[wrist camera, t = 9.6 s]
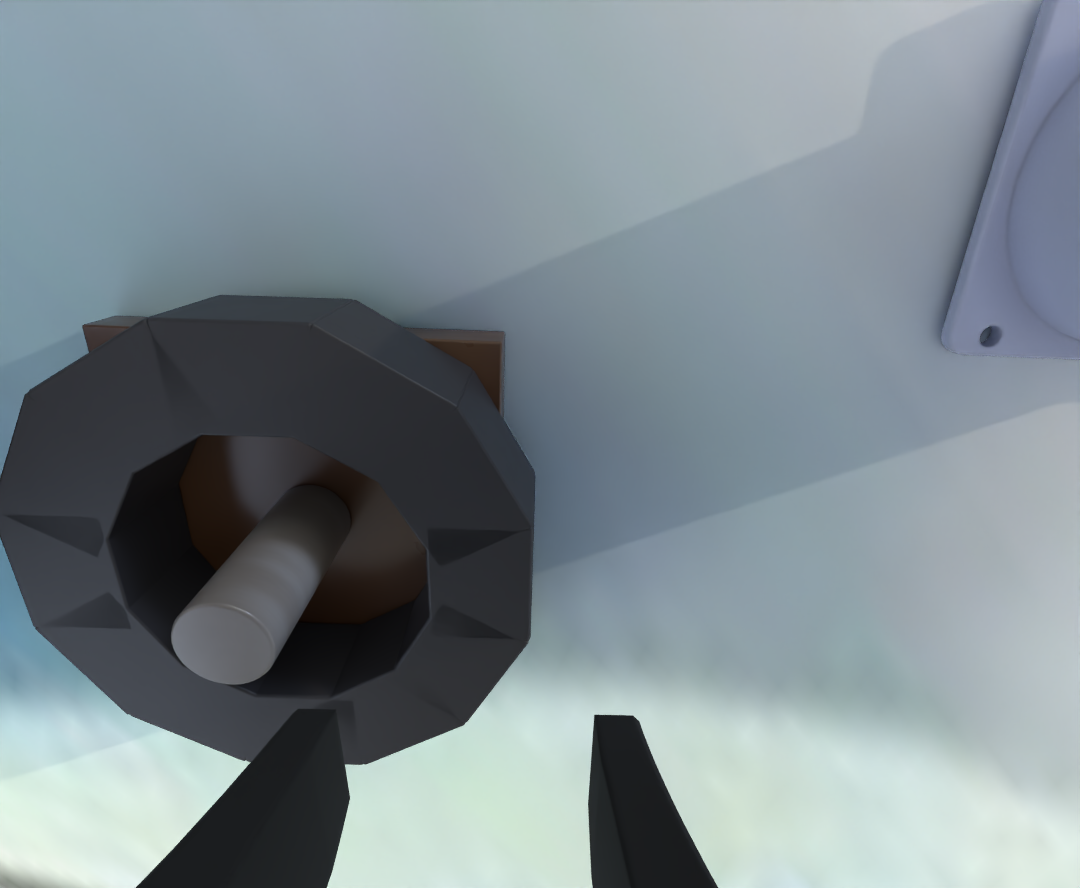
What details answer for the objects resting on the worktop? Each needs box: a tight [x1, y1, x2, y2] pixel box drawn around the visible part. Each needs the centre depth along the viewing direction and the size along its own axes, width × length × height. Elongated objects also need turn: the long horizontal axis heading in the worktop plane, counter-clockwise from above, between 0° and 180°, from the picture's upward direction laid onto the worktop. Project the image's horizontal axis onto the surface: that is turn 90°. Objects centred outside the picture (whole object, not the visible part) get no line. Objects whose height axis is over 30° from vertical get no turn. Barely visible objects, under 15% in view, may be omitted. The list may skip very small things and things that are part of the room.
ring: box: [0, 295, 535, 765], centre depth 15 cm, size 12×12×3 cm
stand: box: [83, 316, 505, 684], centre depth 14 cm, size 10×10×6 cm
